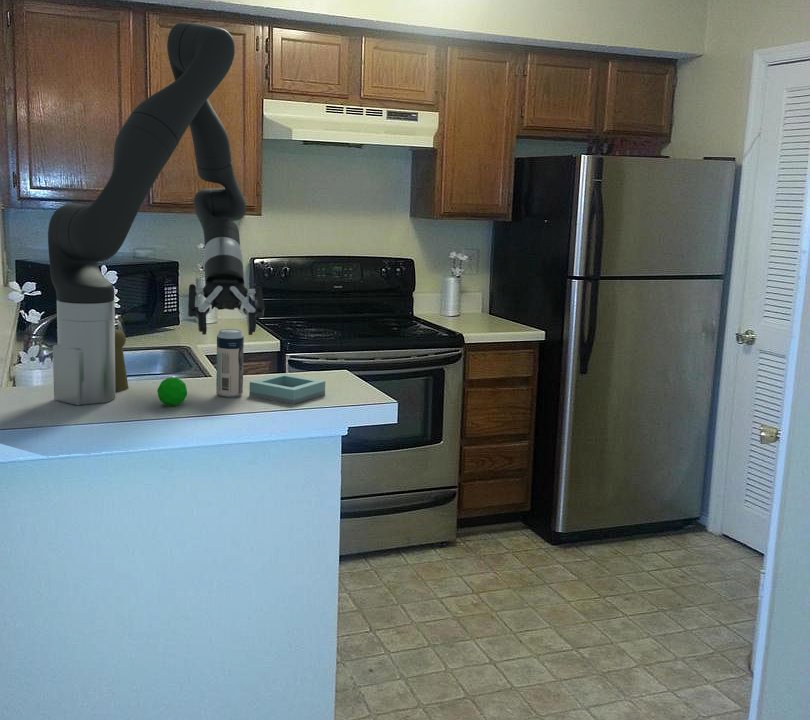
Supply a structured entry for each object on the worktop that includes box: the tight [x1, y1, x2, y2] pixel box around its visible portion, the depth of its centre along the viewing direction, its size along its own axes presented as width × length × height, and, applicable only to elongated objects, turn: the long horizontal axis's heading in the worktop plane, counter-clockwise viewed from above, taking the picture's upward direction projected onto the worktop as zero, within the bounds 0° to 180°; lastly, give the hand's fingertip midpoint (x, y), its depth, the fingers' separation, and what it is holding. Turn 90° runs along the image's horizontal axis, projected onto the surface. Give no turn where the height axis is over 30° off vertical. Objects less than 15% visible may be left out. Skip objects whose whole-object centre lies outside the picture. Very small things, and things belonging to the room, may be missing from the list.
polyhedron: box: [156, 376, 188, 407], centre depth 143 cm, size 5×5×5 cm
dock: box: [248, 373, 326, 405], centre depth 155 cm, size 10×10×3 cm
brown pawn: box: [115, 328, 129, 393], centre depth 152 cm, size 6×6×11 cm
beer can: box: [215, 328, 245, 398], centre depth 152 cm, size 5×5×12 cm
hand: (227, 332), depth 156 cm, fingers open, 8 cm apart
